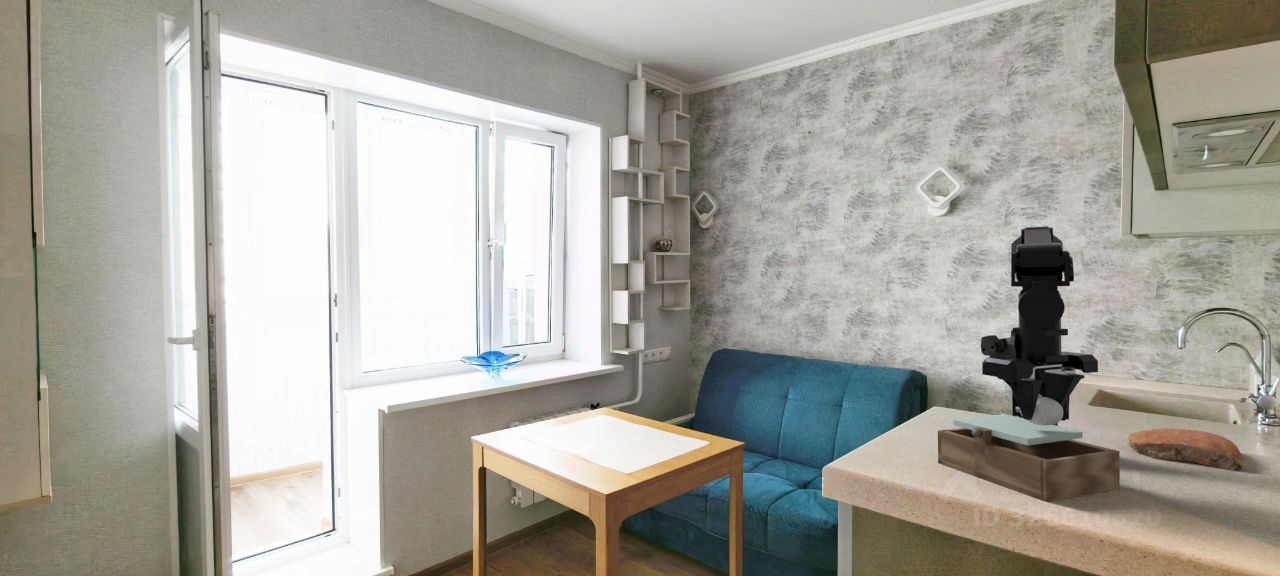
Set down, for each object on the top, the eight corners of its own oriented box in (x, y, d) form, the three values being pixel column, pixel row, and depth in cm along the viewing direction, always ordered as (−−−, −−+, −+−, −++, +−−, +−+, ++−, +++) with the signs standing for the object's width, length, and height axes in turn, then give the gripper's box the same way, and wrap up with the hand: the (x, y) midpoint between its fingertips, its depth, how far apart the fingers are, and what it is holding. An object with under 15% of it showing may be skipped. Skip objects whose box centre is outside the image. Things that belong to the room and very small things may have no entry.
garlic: (1015, 424, 96) (1014, 392, 96) (1022, 418, 100) (1022, 387, 100) (1059, 430, 92) (1059, 397, 92) (1065, 424, 96) (1065, 391, 96)
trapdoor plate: (1004, 419, 109) (1004, 413, 109) (1082, 437, 95) (1082, 431, 95) (953, 425, 105) (953, 419, 105) (1027, 445, 91) (1027, 438, 91)
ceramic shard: (1129, 414, 119) (1232, 436, 110) (1123, 446, 119) (1226, 470, 110) (1133, 419, 108) (1249, 443, 99) (1127, 453, 108) (1242, 481, 99)
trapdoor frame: (1008, 453, 111) (1007, 410, 111) (1124, 487, 92) (1123, 435, 92) (933, 463, 106) (933, 418, 105) (1041, 502, 87) (1040, 447, 86)
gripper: (1034, 317, 106) (1035, 403, 106) (953, 321, 100) (954, 412, 100) (1100, 321, 96) (1100, 417, 96) (1013, 325, 90) (1014, 428, 90)
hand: (1040, 418), depth 96 cm, fingers closed on garlic, 5 cm apart
